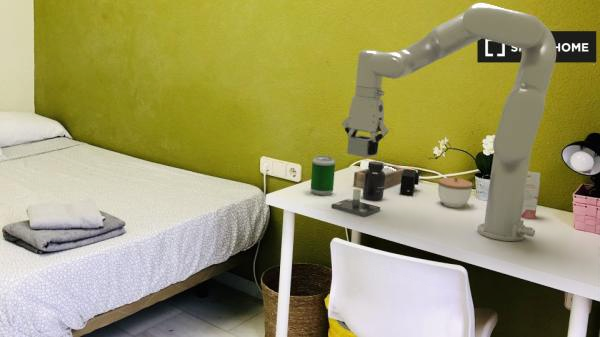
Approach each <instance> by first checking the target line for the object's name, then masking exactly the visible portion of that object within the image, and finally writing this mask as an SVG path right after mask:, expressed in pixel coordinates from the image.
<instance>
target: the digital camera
mask: <svg viewBox="0 0 600 337" xmlns="http://www.w3.org/2000/svg"><path fill="white" fill-rule="evenodd" d="M419 180H420V172H418V171H417V170H416V169H408V168H405V169H404V171H403V173H402V177H401V183H400V188H399V195H400V196H407V197H413V195H414V192H415V187H416V185H417V186H418V185H419Z"/></svg>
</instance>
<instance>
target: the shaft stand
mask: <svg viewBox="0 0 600 337" xmlns="http://www.w3.org/2000/svg"><path fill="white" fill-rule="evenodd" d="M352 191H353V193H352V198H346V199H342V200H340V201H337V202H334V203H331V206H330V209H334V210H337V211H342V212H344V213H348V214H351V215H355V216H359V217H363V218H366V217H369V216H371V215H373V214H376V213H379V212H380V211H381V206H378V205H374V204H370V203H365V202H361V192H362V190H361V188H360V189H359V188H354V189H353V190H352Z"/></svg>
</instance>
